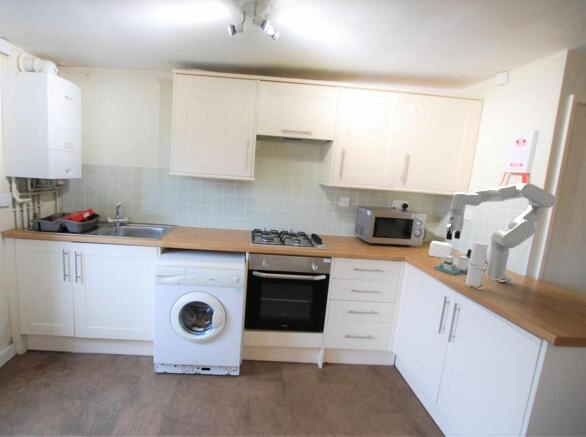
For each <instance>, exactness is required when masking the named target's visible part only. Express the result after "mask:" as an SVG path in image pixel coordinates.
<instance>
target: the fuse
mask: <svg viewBox="0 0 586 437" xmlns="http://www.w3.org/2000/svg"><path fill="white" fill-rule="evenodd" d="M469 259H470V256H465V255H459V256H458V264H457V267H458V268H457V269H461V270H466V269H467V264H468V260H469Z"/></svg>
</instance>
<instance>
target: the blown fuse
mask: <svg viewBox="0 0 586 437" xmlns="http://www.w3.org/2000/svg"><path fill="white" fill-rule="evenodd" d="M454 261H455V257H454V256H452V255H450V256H445V258H444V259H443V263H444V266H443V268H444V269H447V270H450V271H452V265H454Z"/></svg>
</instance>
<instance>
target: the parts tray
mask: <svg viewBox="0 0 586 437" xmlns="http://www.w3.org/2000/svg"><path fill="white" fill-rule="evenodd" d="M443 266H444V265H440V264H438V265H434V270H436V271H439V272H442V273H446V274H449V275H451V276H455V275H459V274H461V273H460V270H458V269H455V268H452V271H450V270H447V269H444V268H443Z"/></svg>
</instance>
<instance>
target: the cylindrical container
mask: <svg viewBox="0 0 586 437" xmlns="http://www.w3.org/2000/svg"><path fill="white" fill-rule="evenodd" d="M488 246H489V244H488V243H487V242H481V241H473V242H472V246H471V250H470V251H471V252H470V256H469V262H468V267H467V269H468V272H467V274H466V279H465V283H467V284H470V285H474V286H477V287H481V283H482V277H483V272H484V268H485V267H484V266H485V262H486V256H487V252H488Z"/></svg>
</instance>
